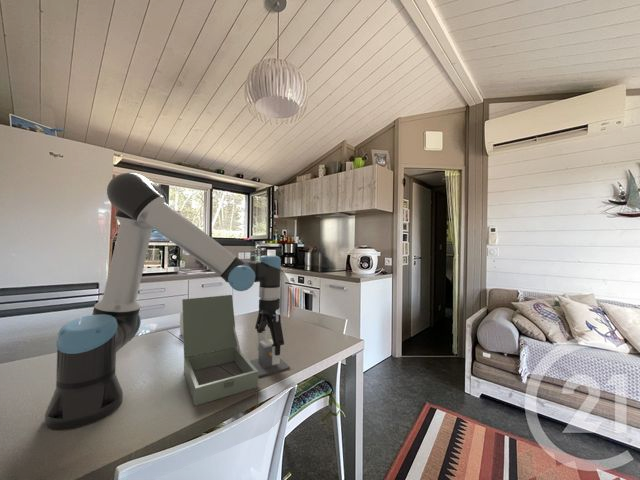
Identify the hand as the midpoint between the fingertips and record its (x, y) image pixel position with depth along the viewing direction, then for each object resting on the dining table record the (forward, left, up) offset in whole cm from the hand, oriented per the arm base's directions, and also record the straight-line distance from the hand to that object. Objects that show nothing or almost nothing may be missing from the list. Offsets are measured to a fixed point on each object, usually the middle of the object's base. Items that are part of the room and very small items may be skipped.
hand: (267, 356), depth 96 cm
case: (-17, +4, -3) cm, 18 cm away
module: (0, 0, -3) cm, 3 cm away
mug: (-17, +49, -4) cm, 52 cm away
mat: (0, 0, -4) cm, 4 cm away
